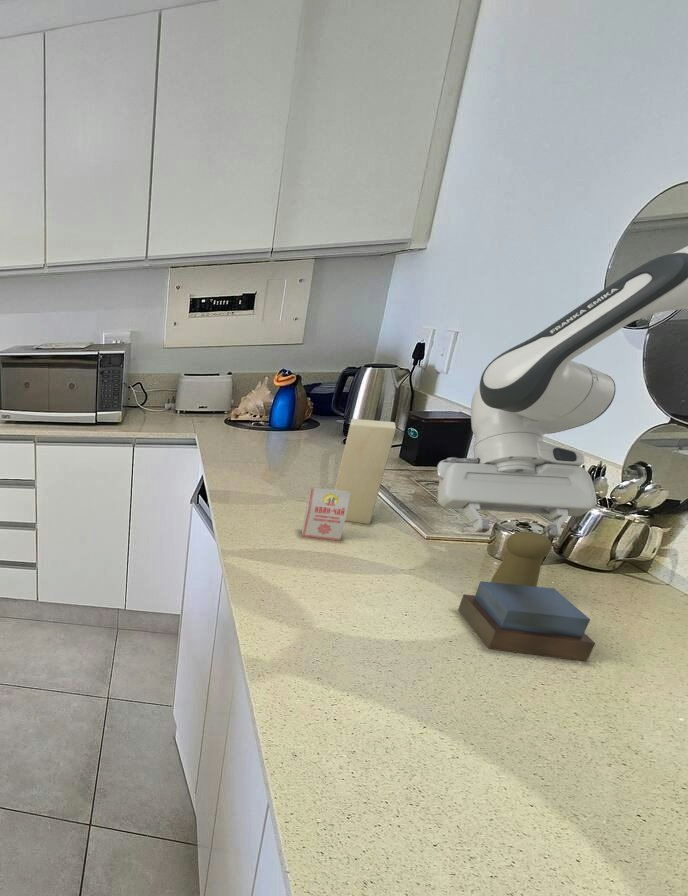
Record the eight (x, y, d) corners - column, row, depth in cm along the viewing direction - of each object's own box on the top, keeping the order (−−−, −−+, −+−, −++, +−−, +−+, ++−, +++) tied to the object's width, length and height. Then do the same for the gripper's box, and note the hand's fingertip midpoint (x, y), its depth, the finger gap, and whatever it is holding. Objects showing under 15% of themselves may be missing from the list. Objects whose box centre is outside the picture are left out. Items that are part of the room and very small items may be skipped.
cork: (534, 594, 95) (559, 533, 91) (533, 608, 91) (559, 546, 87) (486, 583, 99) (508, 524, 95) (483, 597, 95) (506, 536, 91)
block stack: (544, 620, 88) (559, 586, 86) (587, 661, 79) (604, 624, 76) (457, 610, 92) (469, 577, 89) (488, 648, 82) (502, 612, 80)
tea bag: (301, 529, 123) (311, 485, 119) (338, 534, 120) (349, 488, 116) (302, 536, 120) (312, 490, 116) (340, 540, 117) (351, 494, 113)
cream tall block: (370, 513, 129) (395, 420, 121) (370, 524, 124) (396, 428, 115) (329, 508, 133) (350, 417, 125) (328, 518, 128) (349, 424, 119)
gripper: (444, 448, 100) (450, 520, 95) (596, 454, 93) (609, 532, 89) (428, 465, 105) (432, 535, 101) (570, 472, 99) (581, 547, 95)
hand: (516, 534), depth 95 cm, fingers open, 8 cm apart
